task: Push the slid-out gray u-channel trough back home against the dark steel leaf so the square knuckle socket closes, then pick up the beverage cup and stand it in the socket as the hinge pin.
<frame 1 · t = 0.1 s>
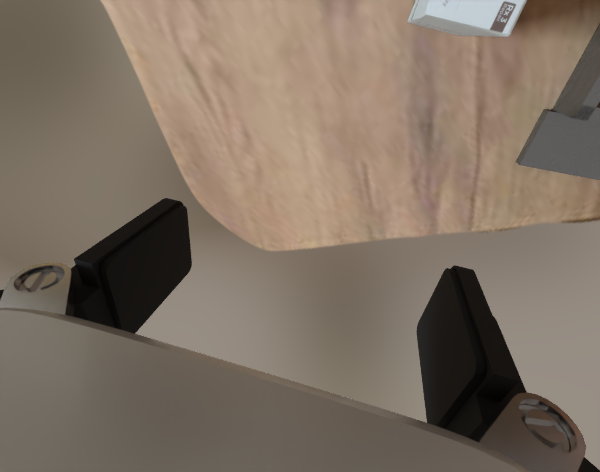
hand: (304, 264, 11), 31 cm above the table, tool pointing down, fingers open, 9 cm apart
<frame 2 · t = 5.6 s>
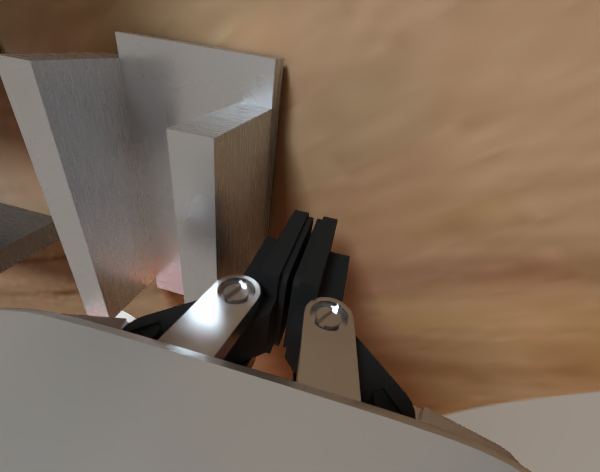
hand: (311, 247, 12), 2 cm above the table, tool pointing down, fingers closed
gray u-channel trough: (165, 218, 12), point 3 cm above the table, slide at 5.4 cm, touching gripper
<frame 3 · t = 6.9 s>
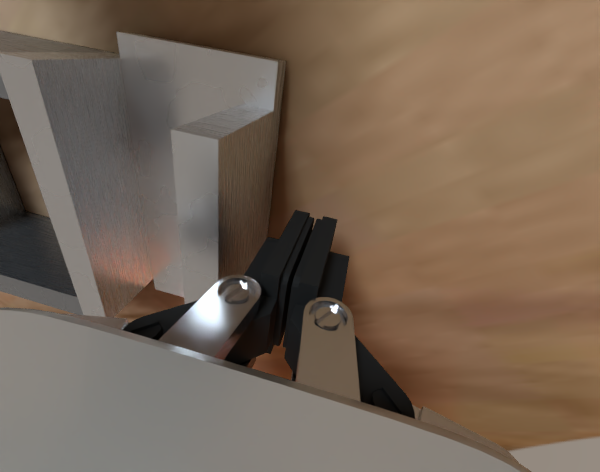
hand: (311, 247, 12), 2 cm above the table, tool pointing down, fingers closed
gray u-channel trough: (165, 219, 12), point 3 cm above the table, slide at -0.3 cm, touching fixed leaf, gripper
fixed leaf: (67, 159, 15), on the table
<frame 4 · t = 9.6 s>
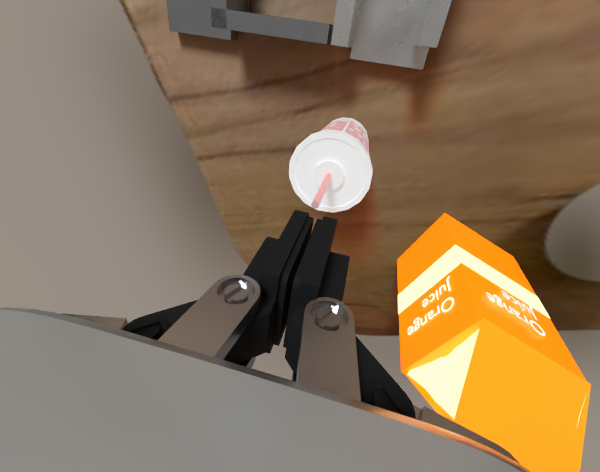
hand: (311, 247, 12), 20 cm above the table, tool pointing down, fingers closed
orange juice: (451, 257, 33), on the table
beverage cup: (344, 141, 29), on the table
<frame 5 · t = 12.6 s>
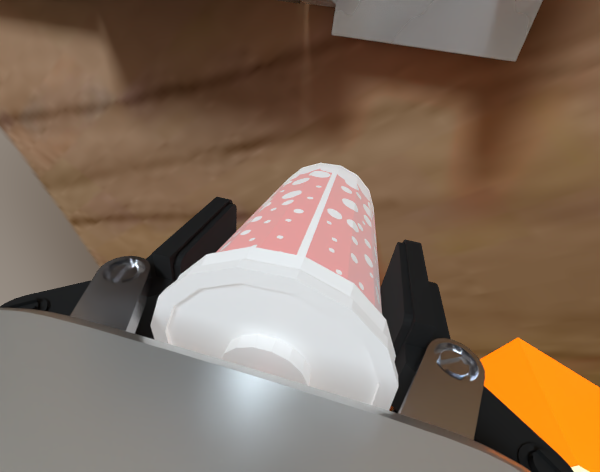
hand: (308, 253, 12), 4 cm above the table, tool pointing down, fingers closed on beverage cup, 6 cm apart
orange juice: (520, 399, 19), on the table
beverage cup: (325, 207, 15), on the table, touching gripper
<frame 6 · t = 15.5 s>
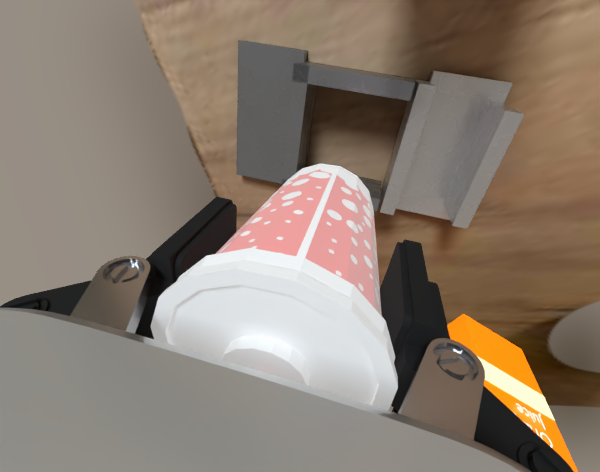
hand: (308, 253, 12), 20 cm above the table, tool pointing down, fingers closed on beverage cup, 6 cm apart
orange juice: (468, 345, 39), on the table
gray u-channel trough: (438, 157, 25), point 3 cm above the table, slide at 0.0 cm
beverage cup: (325, 207, 15), point 16 cm above the table, touching gripper
fixed leaf: (352, 133, 28), on the table
when the fingers open (6 cm above the table, at t = 18.5 s): beverage cup drops 2 cm, on the table.
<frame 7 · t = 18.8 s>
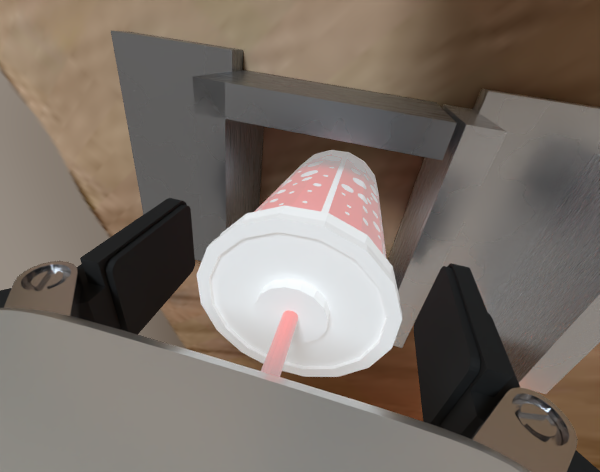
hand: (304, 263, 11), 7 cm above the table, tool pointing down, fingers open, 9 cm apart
gray u-channel trough: (490, 255, 13), point 3 cm above the table, slide at 0.0 cm
beverage cup: (334, 191, 17), on the table
fixed leaf: (330, 193, 16), on the table
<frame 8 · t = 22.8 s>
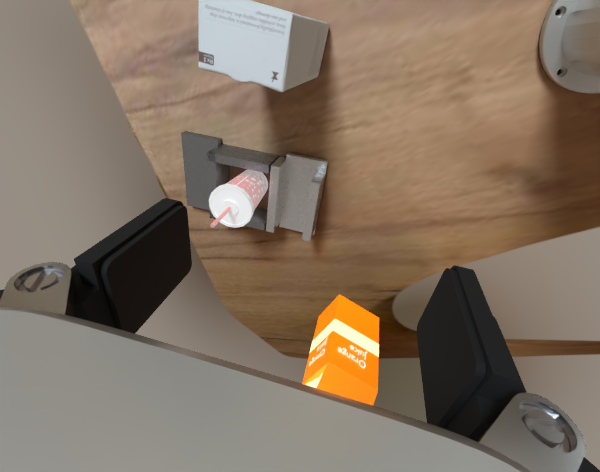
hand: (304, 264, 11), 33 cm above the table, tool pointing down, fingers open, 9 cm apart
orange juice: (348, 316, 58), on the table
gray u-channel trough: (294, 200, 44), point 3 cm above the table, slide at 0.0 cm
beverage cup: (254, 182, 48), on the table
skincare box: (291, 44, 37), on the table
fixed leaf: (253, 183, 47), on the table
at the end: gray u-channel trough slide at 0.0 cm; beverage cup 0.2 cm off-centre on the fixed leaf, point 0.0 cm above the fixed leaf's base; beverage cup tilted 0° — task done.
